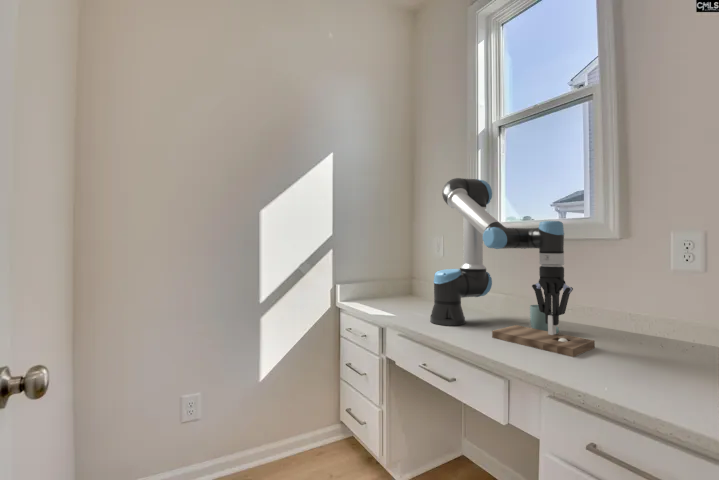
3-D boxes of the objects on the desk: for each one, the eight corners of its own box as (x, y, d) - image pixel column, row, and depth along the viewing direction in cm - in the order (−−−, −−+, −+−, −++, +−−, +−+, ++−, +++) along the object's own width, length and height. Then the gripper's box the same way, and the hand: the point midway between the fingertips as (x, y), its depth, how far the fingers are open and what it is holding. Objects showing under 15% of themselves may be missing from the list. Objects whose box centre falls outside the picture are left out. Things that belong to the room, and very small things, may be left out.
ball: (565, 339, 117) (566, 349, 116) (569, 337, 118) (570, 347, 118) (555, 338, 119) (556, 347, 119) (559, 336, 121) (561, 346, 121)
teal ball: (547, 333, 127) (547, 325, 127) (551, 332, 129) (551, 323, 129) (556, 335, 124) (556, 326, 124) (560, 334, 126) (560, 325, 126)
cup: (554, 334, 136) (554, 308, 136) (533, 333, 138) (532, 307, 138) (548, 329, 144) (548, 305, 144) (527, 328, 145) (527, 304, 145)
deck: (492, 337, 131) (492, 330, 131) (515, 331, 141) (515, 325, 141) (573, 357, 109) (573, 348, 109) (594, 348, 118) (594, 340, 118)
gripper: (527, 265, 125) (528, 331, 125) (566, 267, 114) (567, 339, 114) (538, 264, 129) (538, 328, 129) (576, 266, 119) (577, 336, 119)
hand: (552, 333), depth 122 cm, fingers closed
